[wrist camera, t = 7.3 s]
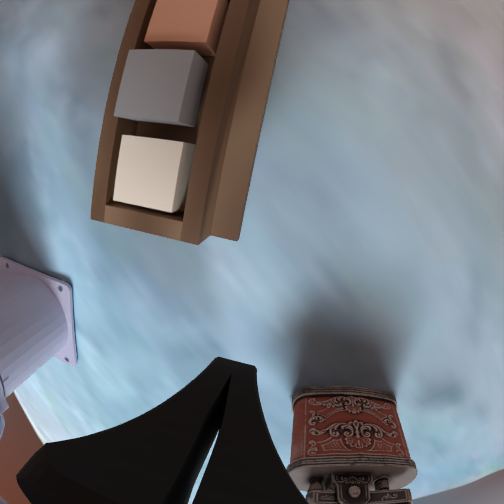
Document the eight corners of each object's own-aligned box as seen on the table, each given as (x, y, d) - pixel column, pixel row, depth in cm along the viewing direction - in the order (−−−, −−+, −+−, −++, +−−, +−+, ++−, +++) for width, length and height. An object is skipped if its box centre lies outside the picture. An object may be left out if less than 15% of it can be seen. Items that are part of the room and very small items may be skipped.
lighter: (288, 413, 22) (276, 524, 13) (296, 380, 21) (287, 498, 12) (387, 420, 21) (409, 521, 12) (401, 388, 20) (436, 494, 11)
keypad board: (97, 207, 20) (70, 214, 17) (143, -4, 16) (123, -22, 13) (238, 239, 19) (228, 252, 16) (289, 0, 15) (286, -25, 12)
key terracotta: (161, 53, 16) (143, 41, 14) (175, 5, 15) (160, -11, 13) (217, 56, 16) (205, 42, 13) (230, 6, 15) (221, -13, 12)
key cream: (133, 195, 19) (112, 200, 16) (142, 137, 17) (122, 134, 15) (187, 206, 18) (171, 212, 16) (198, 145, 17) (183, 142, 15)
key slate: (135, 120, 16) (113, 116, 14) (149, 61, 15) (129, 49, 13) (194, 127, 16) (178, 121, 14) (208, 64, 15) (194, 50, 12)
